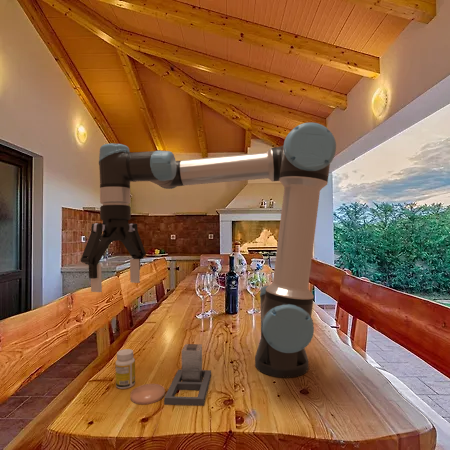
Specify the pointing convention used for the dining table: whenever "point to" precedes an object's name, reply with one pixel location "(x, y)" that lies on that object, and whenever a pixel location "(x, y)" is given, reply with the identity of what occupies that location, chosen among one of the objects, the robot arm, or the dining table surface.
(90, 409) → the dining table surface
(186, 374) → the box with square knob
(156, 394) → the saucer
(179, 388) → the grey double frame
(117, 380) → the supplement bottle
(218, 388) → the dining table surface
